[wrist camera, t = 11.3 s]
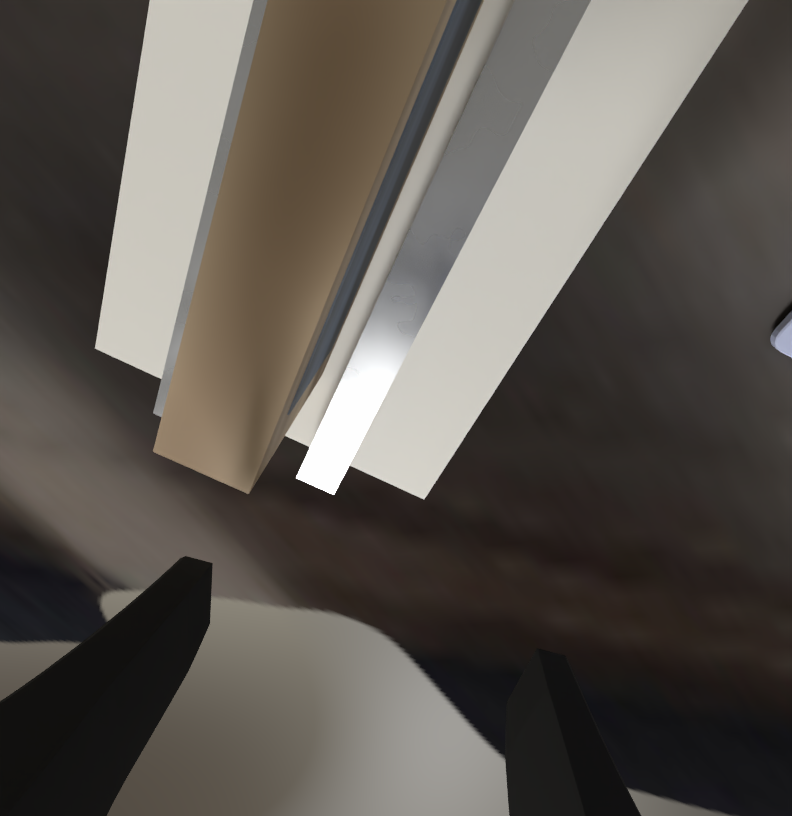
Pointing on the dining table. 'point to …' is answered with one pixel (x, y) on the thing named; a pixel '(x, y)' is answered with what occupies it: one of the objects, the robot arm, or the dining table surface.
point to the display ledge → (411, 208)
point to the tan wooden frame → (301, 215)
